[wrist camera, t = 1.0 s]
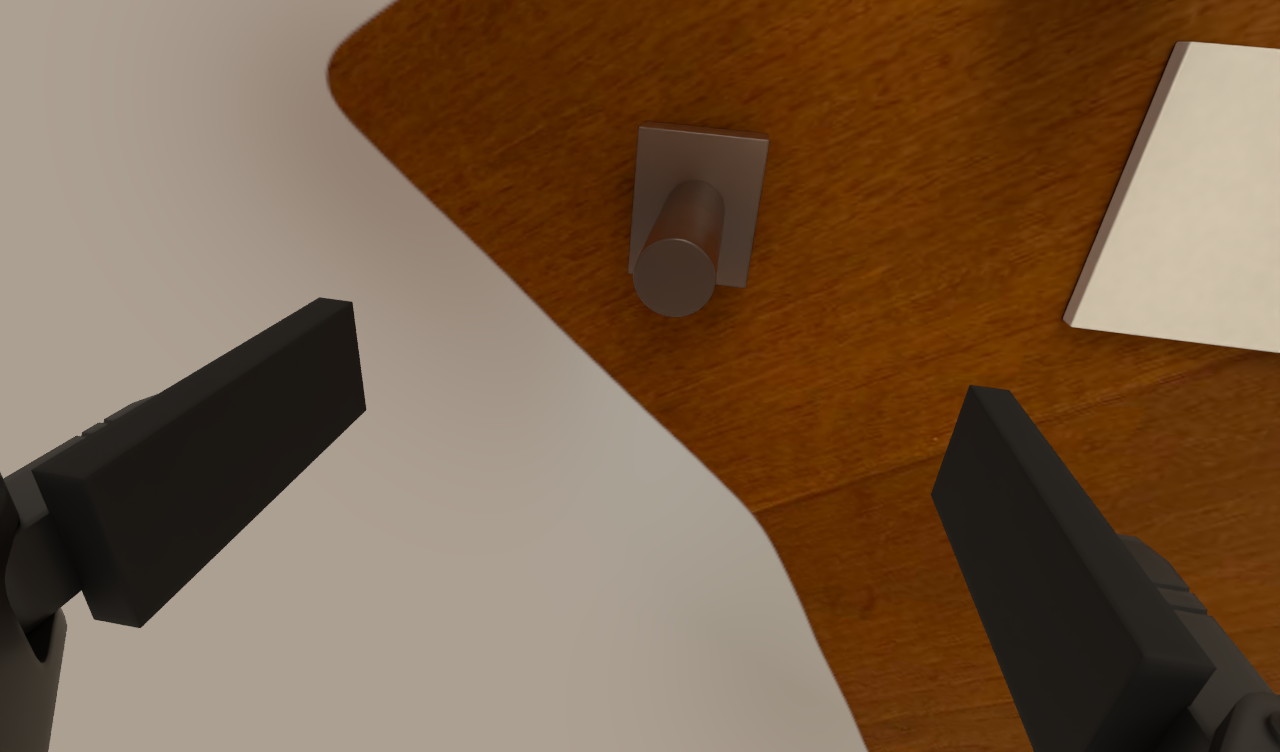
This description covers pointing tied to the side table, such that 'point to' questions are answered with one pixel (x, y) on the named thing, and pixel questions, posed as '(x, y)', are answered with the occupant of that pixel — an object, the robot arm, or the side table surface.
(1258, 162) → the tile
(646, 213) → the stamp
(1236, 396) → the side table surface
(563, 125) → the side table surface
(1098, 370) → the side table surface
